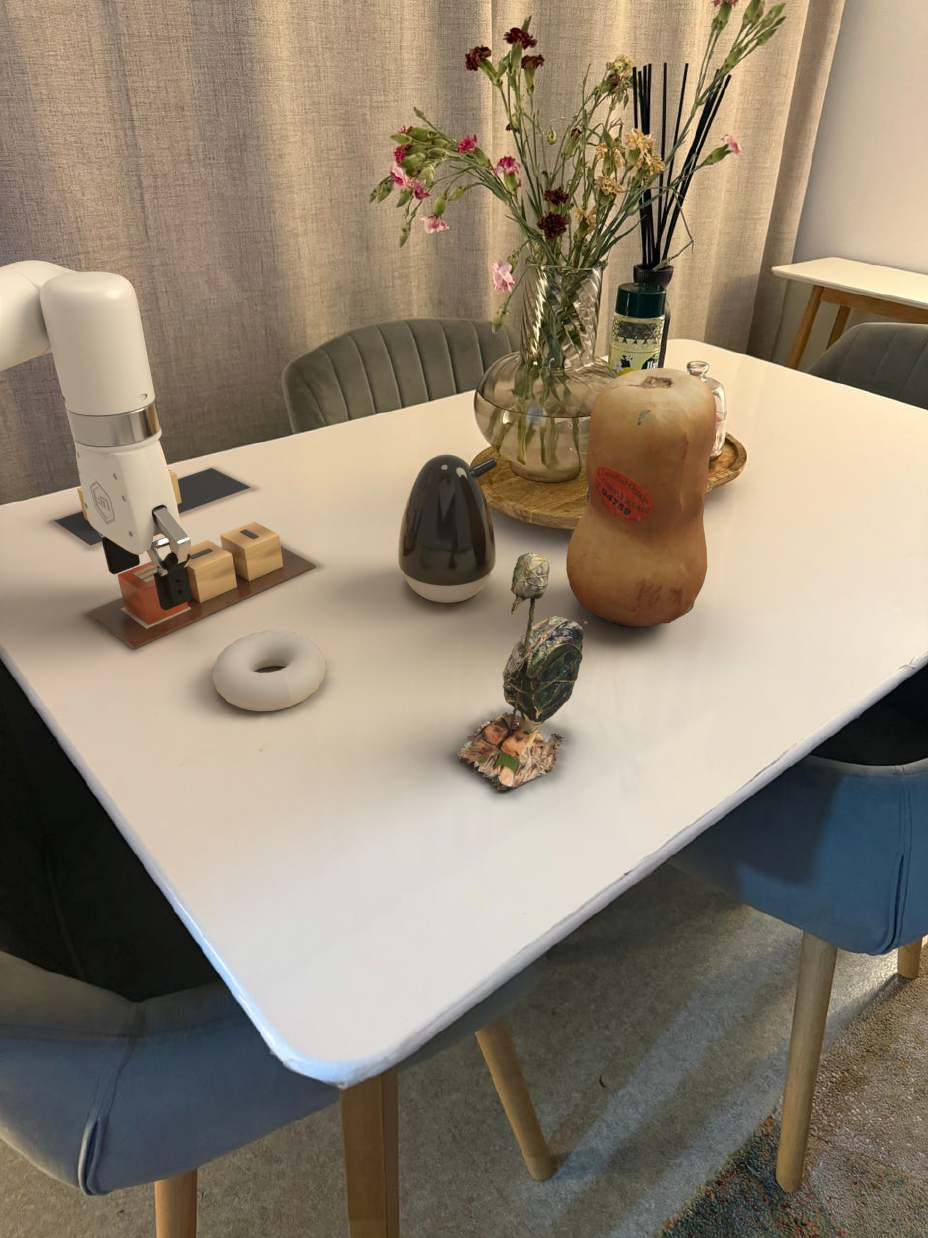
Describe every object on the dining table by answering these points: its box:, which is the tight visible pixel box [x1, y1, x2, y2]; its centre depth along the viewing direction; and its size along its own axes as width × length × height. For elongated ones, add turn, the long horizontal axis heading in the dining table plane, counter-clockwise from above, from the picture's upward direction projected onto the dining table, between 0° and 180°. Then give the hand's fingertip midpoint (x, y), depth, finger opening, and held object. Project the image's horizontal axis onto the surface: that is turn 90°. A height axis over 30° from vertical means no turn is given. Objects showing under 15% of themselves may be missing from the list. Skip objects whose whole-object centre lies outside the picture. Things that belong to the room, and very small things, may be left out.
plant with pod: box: [457, 552, 588, 791], centre depth 68 cm, size 8×11×20 cm
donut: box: [212, 630, 327, 712], centre depth 80 cm, size 10×4×10 cm
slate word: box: [54, 467, 251, 546], centre depth 109 cm, size 9×22×5 cm, turn 137°
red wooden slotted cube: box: [116, 560, 188, 625], centre depth 89 cm, size 4×4×4 cm
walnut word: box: [87, 521, 317, 651], centre depth 93 cm, size 9×22×5 cm, turn 137°
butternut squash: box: [565, 367, 717, 629], centre depth 84 cm, size 14×13×25 cm
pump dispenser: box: [397, 454, 498, 604], centre depth 90 cm, size 10×10×15 cm
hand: (150, 586), depth 88 cm, fingers open, 9 cm apart
